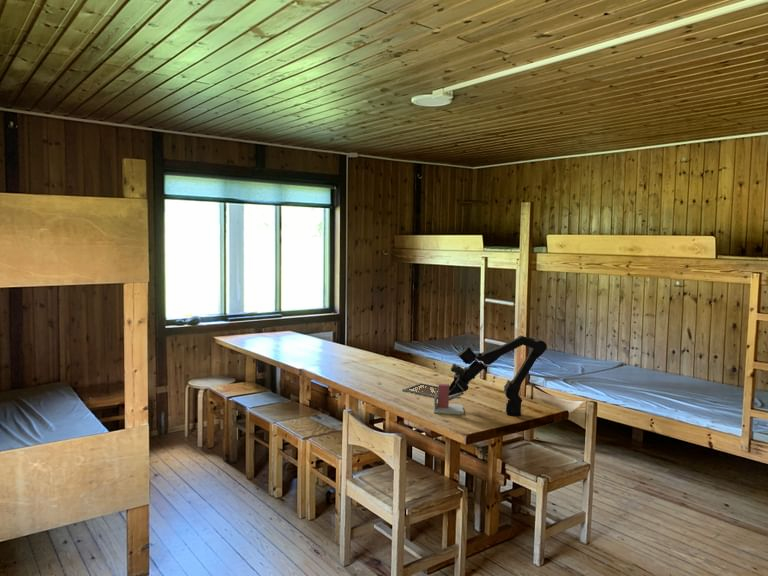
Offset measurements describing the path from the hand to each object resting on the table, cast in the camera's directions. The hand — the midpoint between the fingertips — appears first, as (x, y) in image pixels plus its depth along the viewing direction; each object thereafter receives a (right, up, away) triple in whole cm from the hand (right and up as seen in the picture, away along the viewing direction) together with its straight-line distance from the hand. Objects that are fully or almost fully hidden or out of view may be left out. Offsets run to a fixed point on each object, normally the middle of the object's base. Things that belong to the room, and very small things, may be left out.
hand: (448, 392), depth 276 cm
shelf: (0, -9, +1) cm, 9 cm away
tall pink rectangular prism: (-3, -7, +1) cm, 8 cm away
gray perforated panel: (-4, -7, +32) cm, 33 cm away
